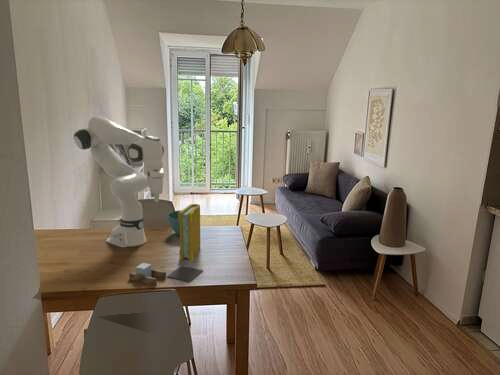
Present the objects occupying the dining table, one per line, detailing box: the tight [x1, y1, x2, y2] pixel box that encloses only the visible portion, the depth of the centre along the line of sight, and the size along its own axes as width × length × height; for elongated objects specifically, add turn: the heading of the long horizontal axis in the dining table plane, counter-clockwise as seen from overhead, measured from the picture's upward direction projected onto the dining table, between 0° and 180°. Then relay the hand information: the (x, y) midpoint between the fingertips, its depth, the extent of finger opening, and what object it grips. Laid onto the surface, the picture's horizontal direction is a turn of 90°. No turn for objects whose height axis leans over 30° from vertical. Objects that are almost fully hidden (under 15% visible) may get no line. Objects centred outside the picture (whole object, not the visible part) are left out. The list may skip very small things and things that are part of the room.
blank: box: [135, 262, 153, 277], centre depth 170 cm, size 4×5×6 cm
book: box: [178, 203, 201, 261], centre depth 195 cm, size 17×7×25 cm, turn 168°
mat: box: [166, 265, 204, 283], centre depth 175 cm, size 12×12×1 cm
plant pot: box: [167, 209, 181, 236], centre depth 226 cm, size 18×18×12 cm
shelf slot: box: [128, 268, 167, 287], centre depth 169 cm, size 14×8×3 cm, turn 68°
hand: (154, 199), depth 179 cm, fingers open, 8 cm apart
